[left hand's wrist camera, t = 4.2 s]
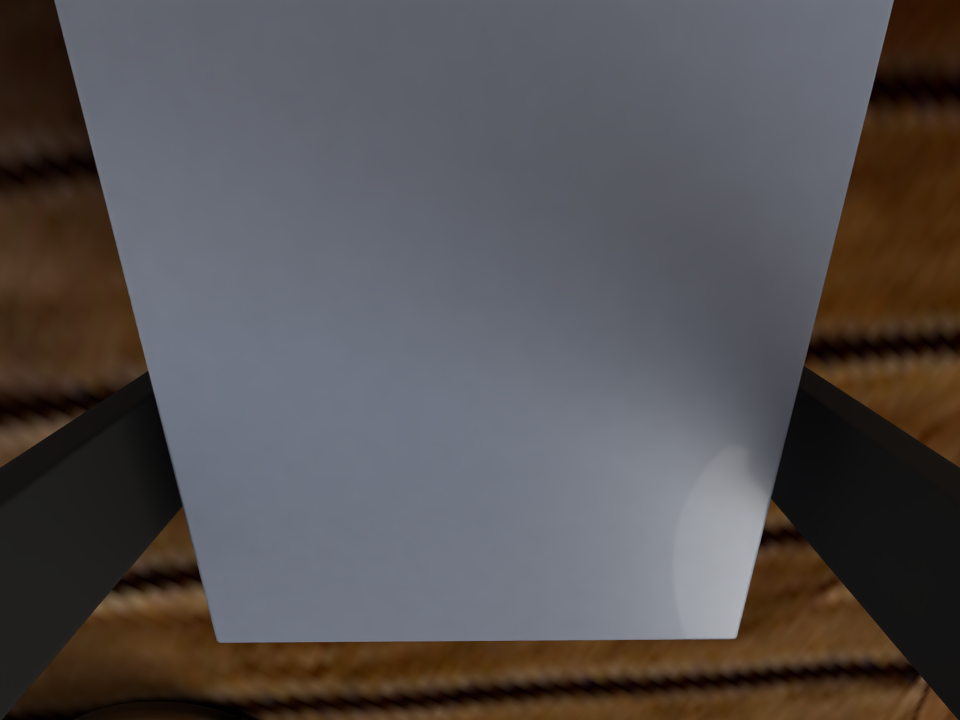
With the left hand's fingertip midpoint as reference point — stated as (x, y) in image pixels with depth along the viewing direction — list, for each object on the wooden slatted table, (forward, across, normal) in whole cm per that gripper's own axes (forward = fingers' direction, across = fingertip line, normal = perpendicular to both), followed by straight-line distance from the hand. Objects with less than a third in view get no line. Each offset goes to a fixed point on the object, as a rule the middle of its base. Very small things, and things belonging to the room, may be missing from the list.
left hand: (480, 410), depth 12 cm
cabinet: (+7, 0, -6) cm, 9 cm away
